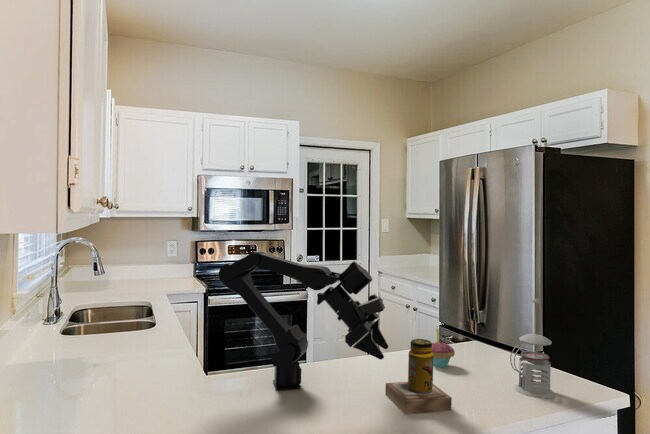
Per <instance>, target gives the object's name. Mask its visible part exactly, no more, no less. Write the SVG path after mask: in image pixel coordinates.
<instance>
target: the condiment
mask: <svg viewBox="0 0 650 434" xmlns="http://www.w3.org/2000/svg"><path fill="white" fill-rule="evenodd" d="M432 343H433V342H432V341H431V340H429V339H423V338H415V339H412V340H411V341H410V346H409V349H410V350H409V352H408V367H407V369H408V370H407V382H408V383H396V385H397V386H398V387H399V389H400V390H401V391H402V392H403V393H404V394H405V395H417V394H418V395H426V394H438V392H436V391H435V390H434V389H433V388H432V386H433V384H434V366H433V353H432Z"/></svg>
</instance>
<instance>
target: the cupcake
mask: <svg viewBox="0 0 650 434" xmlns="http://www.w3.org/2000/svg"><path fill="white" fill-rule="evenodd" d="M431 343H432V353H433V368H434V367H435V368H437V369H438V368H439V369H445V368H448V365H449V363H450V360H451V358H453V357H454V356H455V354H456V353H455V352H456V351H455V349H454V348H453V347H452V346H451V345H450V344H449V343H444V342H440V332H439V328H438V327H436V342H435V341H434V342H431Z"/></svg>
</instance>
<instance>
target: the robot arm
mask: <svg viewBox="0 0 650 434" xmlns="http://www.w3.org/2000/svg"><path fill="white" fill-rule="evenodd" d="M257 268H261V269H263V270H267V271H270V272H273V273H277V274H279V275H282V276H286V277H289V278H291V279H292V278H293V279H295V280H296V281H298V282H299V283H301V284H302V285H304V286H305V287H307V288H308V289H312V290H313V291H321V290H323V289H325V288H326V287H328V286H329V287H328V288H327V289H326V290H325V291H324V292H319V293H317V294H316V297H317V299H316V304H317V306H319V305H321V304H322V303H323V302H325V303H326V304H327V305H328V306H329V308H330V309H332V310H333V312H334V313H335V314H336V315H337V317H336V319H337V320H338V321H342V322H343V323H344V324H345V326H346V327H347V328H348V329H347V334H346V335H344V336H345V338H344V341H345V343H346V344H347V346H348V347H349V348H351V347H352V348H353V349H356V350H358V351H361V352H363V353H366V354H368V355H370V356H373V357H374V358H376V359H378V360H383V359H384V358H385V355H384V354H383V352H382V350H381V349H380V348H383V350H388V348H389V345H388V343H387V342H388V341H386V339H385V337H384V335H383V333H382V331H381V330H380V318H379V317H380V316H379V314H378V313H381V312H383V311H385V308H386V307H385V304H384V302H383V301H384V300H383V298H382V297H381V296H377V295H376V294H375V293H373V294H370V295H369V296H368V300H367V301H365V302H363V303H361V302H360V301H359V300H354V299H353V298H352V297H351V295H352V294H353V295H358V294H359V293H360V292H362V290H363V289H364V288H366V287H367V286H369V284H370V283H371V282H373V277H372V276H371V274H370V272H369V271H368V270H367V269H366V268H364V267H362V266H361V265H360V264H358V263H357V262H356V261H352V262H351V263H350V264H349V265H348V267H347V268H346V269H345V270H344V271H343V272H341V273H340V272H335V271H331V269H330V268H329V267H327V266H324V265H318V264H317V265H316V264H315V265H314V264H304V263H303V264H301V263H298V262H295V261H291V260H289V259H285V258H283V257H280V256H279V257H278V256H275V255H272V254H269V253H265V251H262V250H257V251H252V252H250V253H249V254H247V255H246V256H244V257H242V258H240V259H238V260H236V261H234V262H231V263H226V264H223V265H222V266H221V267H220V268H219V271H218V279H219V282H220V283H222V284H223V285H224V286H225V287H226V288H227V289H228V290H230V291H231V292H233V293H236V294H237V295H238V296H240V297H241V298H242V299H243V301H244V302H245V303H246V305H248V307H249V308H250V310H251V311H252V312H254V314H255V315H256V316H257V318H258V319H259V320H260V321H261V322H262V324H263V325H264V326H265V327H266V329H268V331H269V333H271V335H272V337H273V339H274V343H275V347H276V348H277V350H278V352H277V353H275V354H274V355H273V356H272V357H271V362H272V363H271V364H272V366H273V367H274V375H273V377H274V378H273V380H272V383H273V385H274V388H275V390H276V391H281V390H283V391H285V390H286V391H287V390H296V389H298V390H299V389H301V384H302V367H301V366H300V361H298V360H300V359H301V357H302V355H304V354H305V353H306V352H307V351H308V348H309V341H308V338H307V334H306V333H304V331H302V329H301V328H300V326H299V325H298V324H295V325H293V326H292V325H289V324H288V323H286V322H285V320H284V319H283V317H281V316H280V314H279V312H277V311H276V309H275V308H274V307H273V306H272V305H271V303H270V302H269V301H268V300H267V299H266V298H265V296H264V295H263V294H262V292H261V291H260V290H259V289H258V288H257V287H256V286H255V284H254V280H253V277H252V275H251V273H252V272H254V271H255V270H256V269H257ZM335 283H338V284H337V285H336V286H334V287H333V285H334V284H335Z"/></svg>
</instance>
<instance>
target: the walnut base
mask: <svg viewBox="0 0 650 434" xmlns="http://www.w3.org/2000/svg"><path fill="white" fill-rule="evenodd" d="M396 383H408V381H400V382H399V381H397V382H385V397H387V398H388V399H389V400H390V402H392V403H393V404H394V405H395V406H396V407H397V408H398V409H399V410H400V411H401V412H402V413H403V414H404V415H411V414H412V415H414V414H425V413H426V414H427V413H434V412H435V413H436V412H446V411H452V400H453V399H452V397H451V396H450V395H449V394H447V392H445V391H443V390H442V389H441V388H439V387H438V386H437V385H435V384H434V383H433V386H432V388H433V389H434V390H435V391H436V392H438V394H426V395H418V394H417V395H405V394H404V393H403V392H402V391H401V390H400V389H399V387H398V386H397V385H396Z"/></svg>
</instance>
